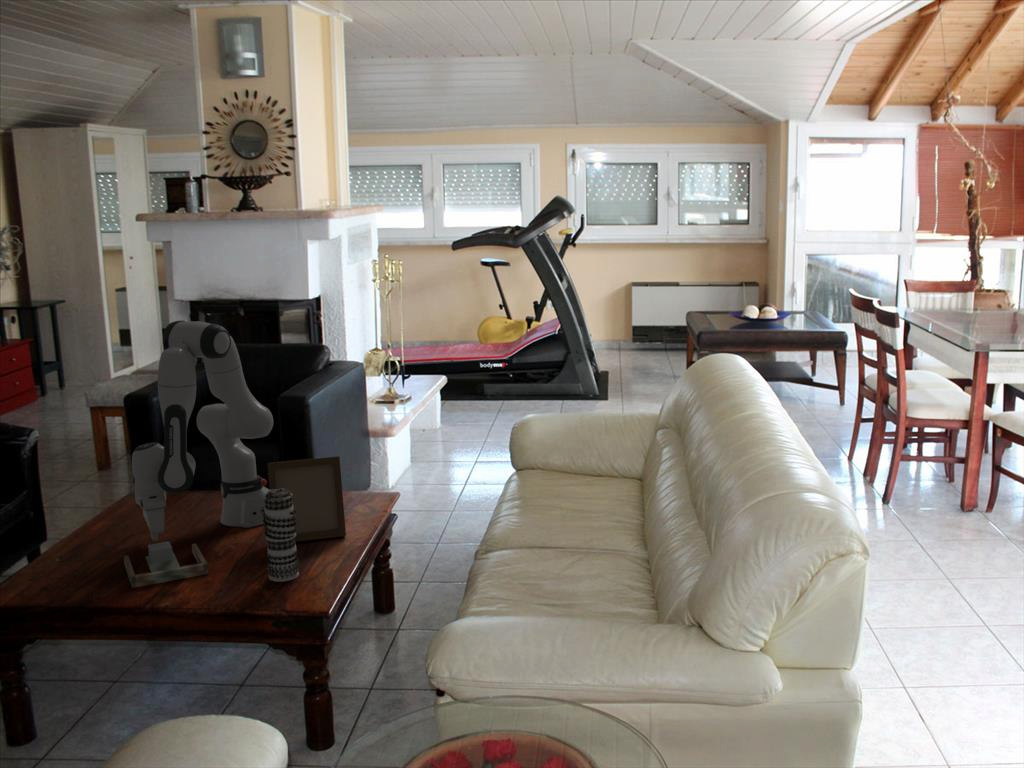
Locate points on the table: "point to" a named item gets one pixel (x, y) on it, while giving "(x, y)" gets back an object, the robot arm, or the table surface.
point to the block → (160, 552)
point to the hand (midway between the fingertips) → (155, 539)
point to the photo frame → (312, 495)
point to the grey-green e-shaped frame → (167, 570)
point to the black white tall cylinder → (280, 535)
